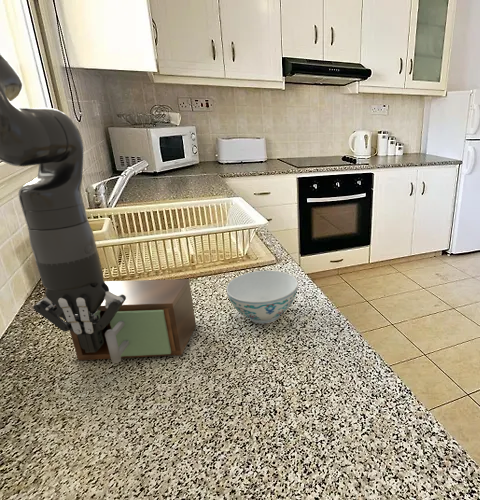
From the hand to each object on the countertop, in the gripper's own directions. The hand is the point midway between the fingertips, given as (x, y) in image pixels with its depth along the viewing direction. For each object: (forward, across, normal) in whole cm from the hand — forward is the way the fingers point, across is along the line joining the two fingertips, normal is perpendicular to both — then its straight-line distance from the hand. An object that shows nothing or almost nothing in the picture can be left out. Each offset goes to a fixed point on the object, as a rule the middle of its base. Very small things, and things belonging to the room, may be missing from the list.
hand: (93, 349), depth 62 cm
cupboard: (+6, -2, -10) cm, 12 cm away
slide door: (+5, -6, -2) cm, 8 cm away
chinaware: (+6, -26, -18) cm, 32 cm away
